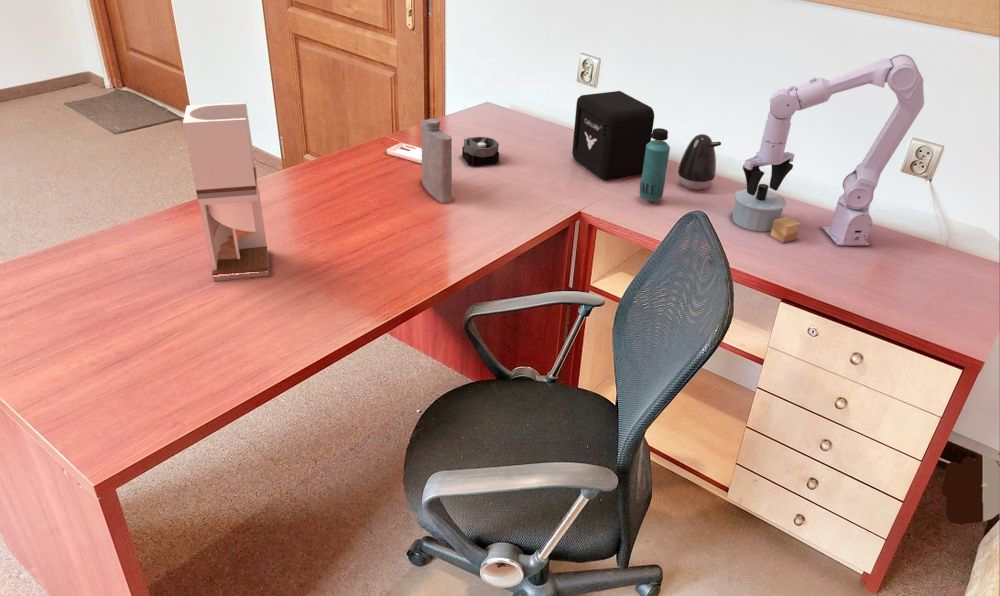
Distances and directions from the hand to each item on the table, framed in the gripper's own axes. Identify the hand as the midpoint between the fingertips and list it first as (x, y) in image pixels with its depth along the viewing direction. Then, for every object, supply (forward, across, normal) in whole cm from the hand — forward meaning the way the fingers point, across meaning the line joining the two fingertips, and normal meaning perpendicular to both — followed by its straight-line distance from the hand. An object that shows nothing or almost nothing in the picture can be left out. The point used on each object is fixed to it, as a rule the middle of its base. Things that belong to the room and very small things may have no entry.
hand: (762, 191), depth 192 cm
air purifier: (+9, +16, -45) cm, 49 cm away
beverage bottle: (+9, +18, -21) cm, 29 cm away
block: (+8, 0, +10) cm, 13 cm away
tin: (+8, 0, 0) cm, 8 cm away
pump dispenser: (+9, 0, -24) cm, 26 cm away
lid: (+2, 0, 0) cm, 2 cm away
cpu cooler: (+9, +48, -65) cm, 81 cm away
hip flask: (+9, +69, -49) cm, 85 cm away
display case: (+9, +124, -29) cm, 128 cm away
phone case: (+9, +65, -76) cm, 100 cm away
